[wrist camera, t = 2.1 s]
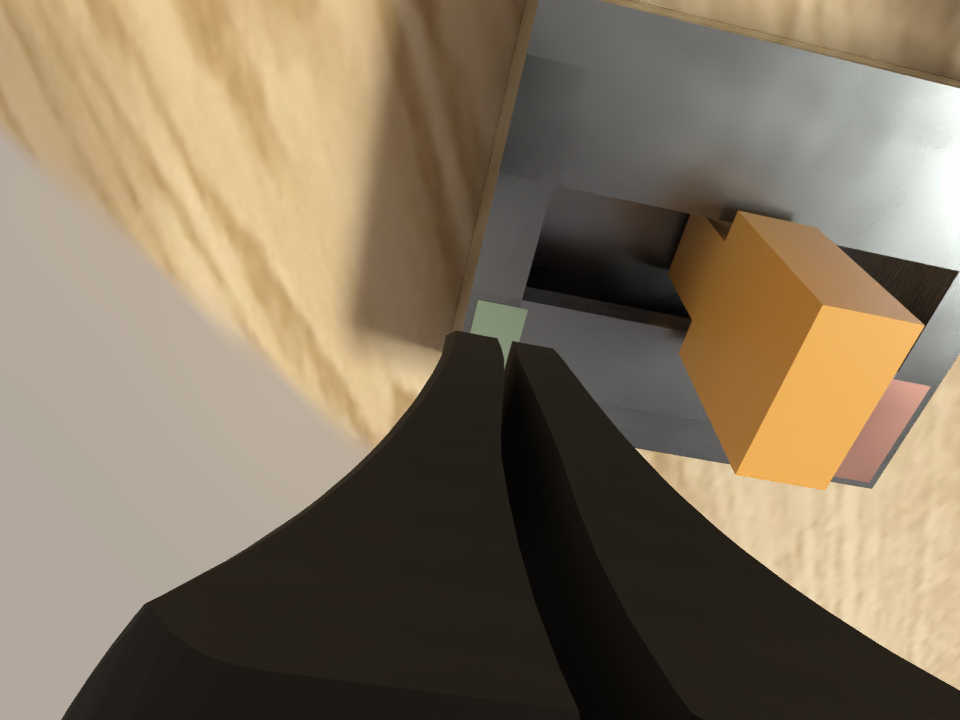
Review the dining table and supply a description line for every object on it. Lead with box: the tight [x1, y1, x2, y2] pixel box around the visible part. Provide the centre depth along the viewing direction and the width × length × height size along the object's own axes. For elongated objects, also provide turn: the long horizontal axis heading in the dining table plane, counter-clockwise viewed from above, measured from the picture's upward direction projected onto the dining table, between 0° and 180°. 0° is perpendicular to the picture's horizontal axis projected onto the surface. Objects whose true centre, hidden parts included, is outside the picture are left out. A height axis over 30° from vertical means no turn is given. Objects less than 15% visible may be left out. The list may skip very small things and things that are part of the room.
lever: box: [667, 211, 925, 490], centre depth 16 cm, size 4×2×7 cm, turn 168°
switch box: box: [452, 0, 960, 489], centre depth 18 cm, size 10×12×3 cm
